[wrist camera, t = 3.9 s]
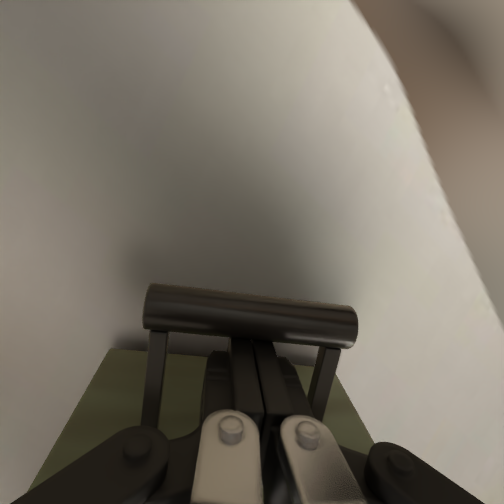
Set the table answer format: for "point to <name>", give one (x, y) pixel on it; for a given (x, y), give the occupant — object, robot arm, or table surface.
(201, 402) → the robot arm
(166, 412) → the drawer
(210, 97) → the table surface
